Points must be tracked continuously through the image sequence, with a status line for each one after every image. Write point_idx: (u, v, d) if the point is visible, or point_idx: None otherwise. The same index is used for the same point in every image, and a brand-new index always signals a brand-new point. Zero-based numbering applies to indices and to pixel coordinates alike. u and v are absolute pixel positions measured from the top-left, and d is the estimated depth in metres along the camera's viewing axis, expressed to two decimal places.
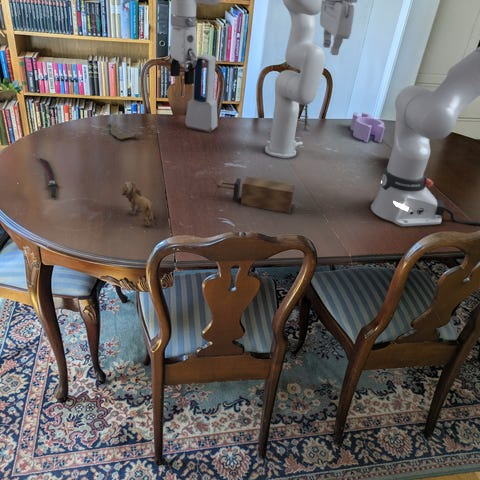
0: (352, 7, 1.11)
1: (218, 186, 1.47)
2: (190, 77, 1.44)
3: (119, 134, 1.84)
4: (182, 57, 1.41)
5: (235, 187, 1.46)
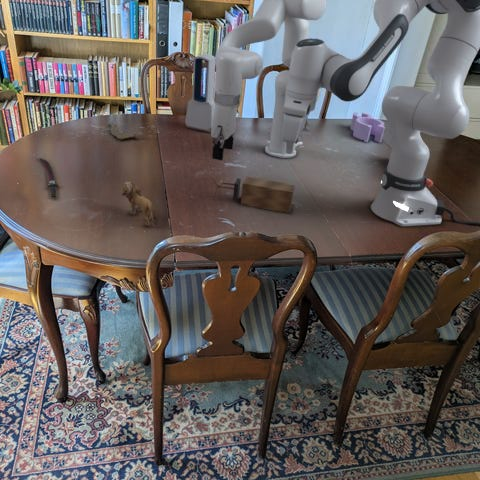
0: None
1: (218, 186, 1.47)
2: None
3: (119, 134, 1.84)
4: (235, 126, 1.44)
5: (235, 187, 1.46)
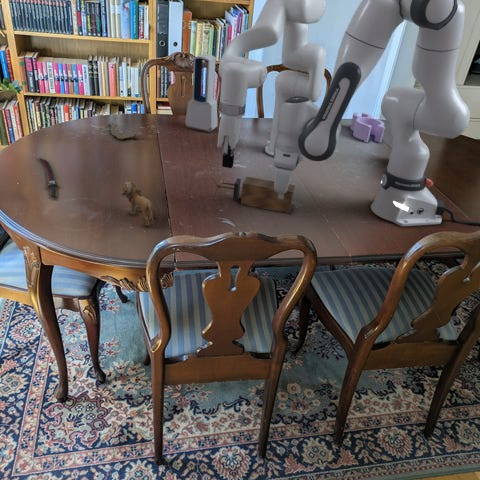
0: None
1: (218, 186, 1.47)
2: None
3: (119, 134, 1.84)
4: (239, 135, 1.43)
5: (235, 187, 1.46)
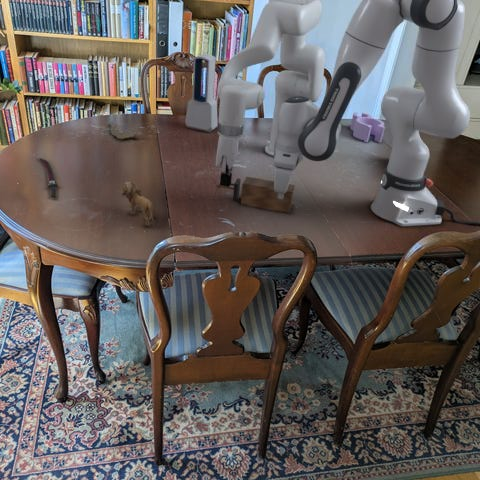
0: None
1: (218, 186, 1.47)
2: None
3: (119, 134, 1.84)
4: None
5: (235, 187, 1.46)
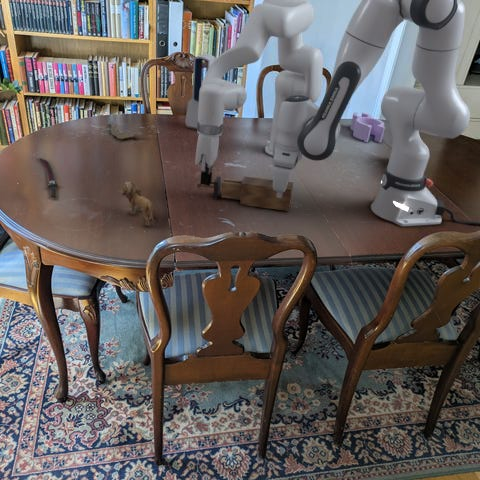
0: None
1: (198, 185, 1.48)
2: None
3: (119, 134, 1.84)
4: (217, 153, 1.48)
5: (215, 185, 1.47)
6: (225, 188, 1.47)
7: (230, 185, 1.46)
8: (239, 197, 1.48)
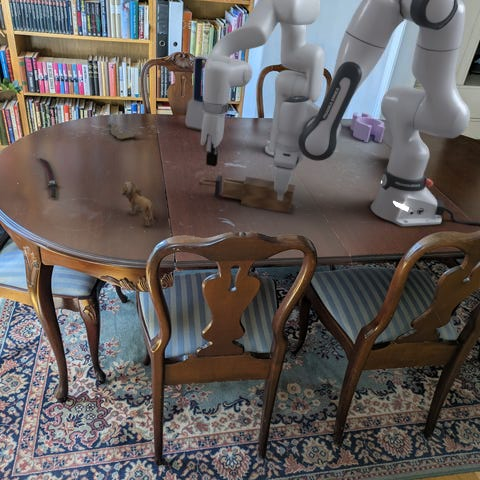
0: None
1: (200, 183, 1.48)
2: None
3: (119, 134, 1.84)
4: (223, 133, 1.44)
5: (216, 184, 1.47)
6: (226, 187, 1.47)
7: (232, 184, 1.46)
8: (240, 197, 1.48)
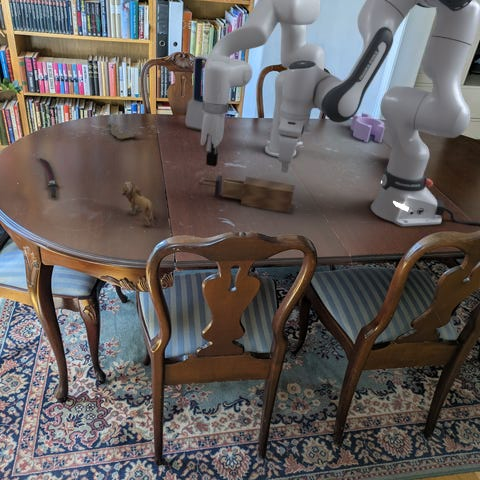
0: None
1: (200, 183, 1.48)
2: None
3: (119, 134, 1.84)
4: (223, 133, 1.44)
5: (216, 184, 1.47)
6: (226, 187, 1.47)
7: (232, 184, 1.46)
8: (240, 197, 1.48)
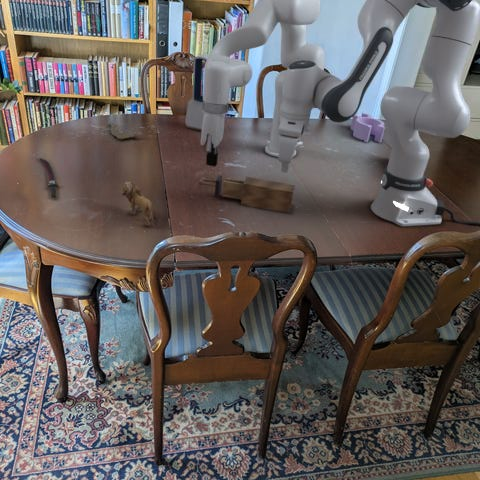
0: None
1: (200, 183, 1.48)
2: None
3: (119, 134, 1.84)
4: (223, 133, 1.44)
5: (216, 184, 1.47)
6: (226, 187, 1.47)
7: (232, 184, 1.46)
8: (240, 197, 1.48)
